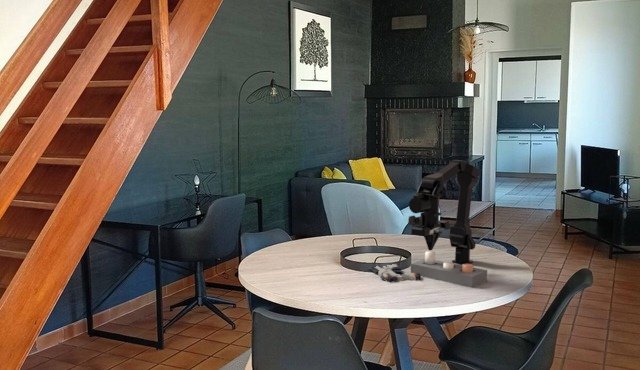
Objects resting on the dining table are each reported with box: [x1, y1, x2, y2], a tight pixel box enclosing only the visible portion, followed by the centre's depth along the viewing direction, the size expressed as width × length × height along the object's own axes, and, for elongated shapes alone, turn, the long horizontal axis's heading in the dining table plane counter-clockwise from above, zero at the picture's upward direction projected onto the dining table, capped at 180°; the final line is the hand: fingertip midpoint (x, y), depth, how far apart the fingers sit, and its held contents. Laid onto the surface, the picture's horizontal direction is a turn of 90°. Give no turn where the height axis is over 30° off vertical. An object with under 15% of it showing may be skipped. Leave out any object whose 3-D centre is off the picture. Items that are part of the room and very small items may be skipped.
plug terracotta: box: [461, 263, 474, 273], centre depth 226 cm, size 4×4×5 cm
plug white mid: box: [443, 261, 455, 269], centre depth 231 cm, size 4×4×5 cm
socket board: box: [410, 258, 488, 288], centre depth 231 cm, size 11×26×4 cm, turn 47°
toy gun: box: [369, 261, 422, 283], centre depth 235 cm, size 3×20×15 cm
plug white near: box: [424, 250, 436, 265], centre depth 236 cm, size 4×4×5 cm
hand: (430, 250), depth 236 cm, fingers closed
